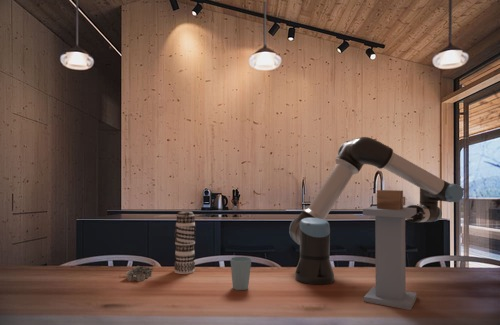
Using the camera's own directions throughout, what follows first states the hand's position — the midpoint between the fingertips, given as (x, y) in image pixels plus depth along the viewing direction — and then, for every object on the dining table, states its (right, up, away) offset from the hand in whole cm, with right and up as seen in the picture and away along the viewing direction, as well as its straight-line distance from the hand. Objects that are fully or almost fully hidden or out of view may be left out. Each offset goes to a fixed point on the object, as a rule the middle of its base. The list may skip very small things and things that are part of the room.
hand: (387, 213), depth 146 cm
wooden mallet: (-4, +5, -18) cm, 19 cm away
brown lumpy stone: (-100, -25, -6) cm, 103 cm away
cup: (-60, -24, -17) cm, 67 cm away
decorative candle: (-84, -25, +4) cm, 88 cm away
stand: (-10, -24, -28) cm, 38 cm away
